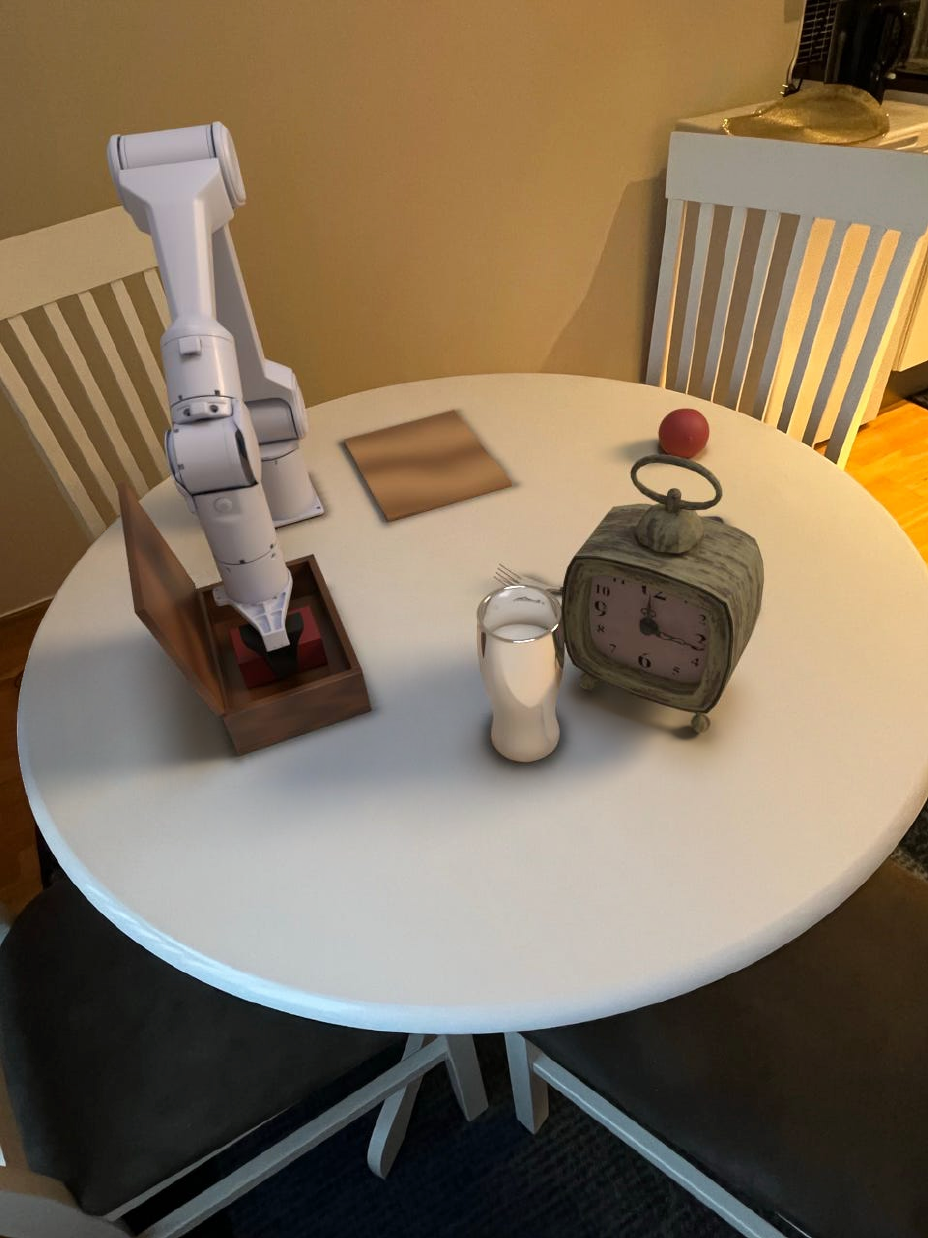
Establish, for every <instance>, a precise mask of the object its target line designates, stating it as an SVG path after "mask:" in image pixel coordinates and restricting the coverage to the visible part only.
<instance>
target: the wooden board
mask: <svg viewBox="0 0 928 1238" xmlns="http://www.w3.org/2000/svg"><path fill="white" fill-rule="evenodd" d="M343 443H344V444H345V446H346V448H347V450H348V452H349V453H350V455H351V457H352V459H353V461H354V463H355V464H356V466H357V468H358V470H359V471H360V474H361V475H362V477H363V479H364V480H365V483H366V485H367V486H368V488H369V490H370V492H371V493H372V495H373V496H374V499H375V500H376V502H377V504H378V506H379V507H380V510H381V511H382V513H383V515H384V517H385V518H386V520H387V522H388V523H390V522H394V521H397V520H400V519H404V518H406V517H411V516H414V515H417V514H420V513H424V512H428V511H430V510H434V509H437V508H441V507H445V506H448V505H451V504H454V503H457V502H461V501H464V500H468V499H471V498H475V497H478V496H482V495H484V494H488V493H491V492H494V491H498V490H502V489H505V488H508V487H512V486H513V482H512V481H511V480H510V479H509V477H508V476H507V475H506V473H505V472H504V470H502V468H501V467H500V466H499V464H498V463H497V462H496V461H495V459H494V458H493V457H492V455H490V453H489V452H488V451H487V449H486V448H485V447H484V445H482V443H481V442H480V440H479V439H478V438H477V437H476V435H474V433H473V432H472V431H471V430H470V428H469V427H468V426H467V424H466V423H465V422H464V420H463V419H462V418H461V417H460V416H459V414H458V412H456V411H455V409H452V410H448V411H444V412H441V413H438V414H434V415H430V416H427V417H423V418H419V419H415V420H412V421H408V422H404V423H401V424H396V425H393V426H389V427H385V428H382V429H378V430H375V431H371V432H367V433H363V434H360V435H356V436H352V437H349V438H345V439H343Z"/></svg>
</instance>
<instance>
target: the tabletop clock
mask: <svg viewBox="0 0 928 1238" xmlns="http://www.w3.org/2000/svg"><path fill="white" fill-rule="evenodd" d="M649 464H651V465H652V464H665V465H671V466H675V467H680V468H684V469H686V470H689V471H692V472H695V473H696V474H698V475H700V476H702V477H703V478H705V479H706V480H707V481H708V482H709V483H710V484H711V486H712V487H713V489H714V490H715V496H714V498H713V499H709V500H707V501H690V500H685V499H682V492H681V490H680V489H678V488H676V487H671V488H669V489H668V491H667V492H666V495H665V494H662V493H659V492H657V491H655V490H653V489H651V488H649V487H647V486H646V485H644V484H643V483H642V482H641V481H640V480H639V479H638V475H637V474H638V470H639V469H641V468H642V467H644V466H647V465H649ZM630 479H631V481H632V483H633V485H634V486H635V488H636V489H637V490H638V491H639V492H640V494H642V495H644V497H646V498H647V499H648V498H649V499H650V500H652V501H653V502H656V503H655V504H651V503H633V504H625V505H617V506H612V507H611V508H610V510H609V511H608V512H607V513H606V515H605V516H604V517H603V519H602V520H601V521H600V523H599V524H598V525H597V526H596V528H595V529H594V530H593V531H592V533H591V534H589V536H588V538H587V539H586V540H585V542H583V544H582V545H581V547H580V548H578V551H577V552H576V553H575V554H574V555H573V557H572V559H571V561H570V562H569V564H568V565H567V566H566V567H567V568H566V570H565V573H564V578H563V581H562V582H563V584H562V587H563V592H561V593H562V594H561V603H560V605H561V608H562V621H563V629H564V641H565V651H566V653H567V656H568V658H569V659H570V662H571V665H573V666H574V667H576V668H577V669H579V670H580V671H581V672H582V673H583V674H582V675H581V676H580V678H579V684H580V687H581V688H582V689H584V690H587V691H592V690H593V689H594V688H596V687H597V685H598V681H600V682H602V683H604V684H606V685H609V686H611V687H613V688H615V689H618V690H620V691H623V692H626V693H627V694H629V695H632V696H634V697H637V698H640V699H643V700H646V701H649V702H651V703H656V704H658V705H662V706H665V707H667V708H671V709H674V710H678V711H681V712H687V713H691V714H695V715H694V716H692V718H691V720H690V726H691V728H692V730H693V731H694V732H696V733H700V734H702V733H706V732H707V731H708V730H709V728H710V727H711V721H710V719H709V717H708V716H707V714H709V712H711V711H712V710H713V709H714V708H715V707H716V706H717V704H718V702H719V701H720V699H721V697H722V695H723V693H724V691H725V689H726V687H727V685H728V683H729V681H730V679H731V677H732V675H733V674H734V672H735V670H736V668H737V666H738V664H739V662H740V660H741V658H742V656H743V654H744V652H745V650H746V649H747V646H748V644H749V642H750V640H751V639H752V636H753V633H754V631H755V627H756V625H757V621H758V619H759V615H760V613H761V609H762V600H763V593H764V592H763V590H764V583H765V569H764V560H763V557H762V554H761V550H760V547H759V544H758V543H757V539H756V538H755V537H753V536H752V535H750V534H749V533H747V532H746V531H744V530H742V529H740V528H738V527H735V526H734V525H731V524H727V523H725V522H724V523H721V522H718V521H715V520H711V519H708V518H705V517H706V516H702V515H699V514H698V512H697V511H707V510H709V509H711V508H714V507H715V506H717V505H718V504H719V502H720V501H721V500H722V497H723V495H724V494H723V487H722V485H721V482H720V479H718V477H717V476H716V475H715V474H714V473H713V472H712V471H711V470H710V469H708V468H706V467H705V466H704V465H702V464H701V463H698V462H696V461H693V460H691V459H689V458H687V459H685V458H681V457H677V456H672V455H668V454H663V453H662V454H661V453H656V454H655V453H654V454H649V455H645V456H642V457H641V458H639V459H638V460H636V461H635V462H634V464H633V465H632V467H631V470H630Z"/></svg>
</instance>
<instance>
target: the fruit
mask: <svg viewBox="0 0 928 1238" xmlns="http://www.w3.org/2000/svg"><path fill="white" fill-rule="evenodd" d="M657 433H658V442H659V444H660V446H661V448H662V449H663V450H664V452H665V453H666V455H672V456H677V457H681V458H685V459H691V458H693V457H695V456H697V455H698V454H699V453H701V452H702V451H703V450H704V448H705V447H706V445H707V443H708V441H709V438H710V425H709V422H708V420H707V418H706V416H705V415H704V414H703V413H702V412H700V411H699V410H696V409H693V408H678V409H675V410H672V411H670V412H669V413H667V414H666V415H665V416H664V417H663V419H662V420H661V422H660V424H659V426H658V432H657Z"/></svg>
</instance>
